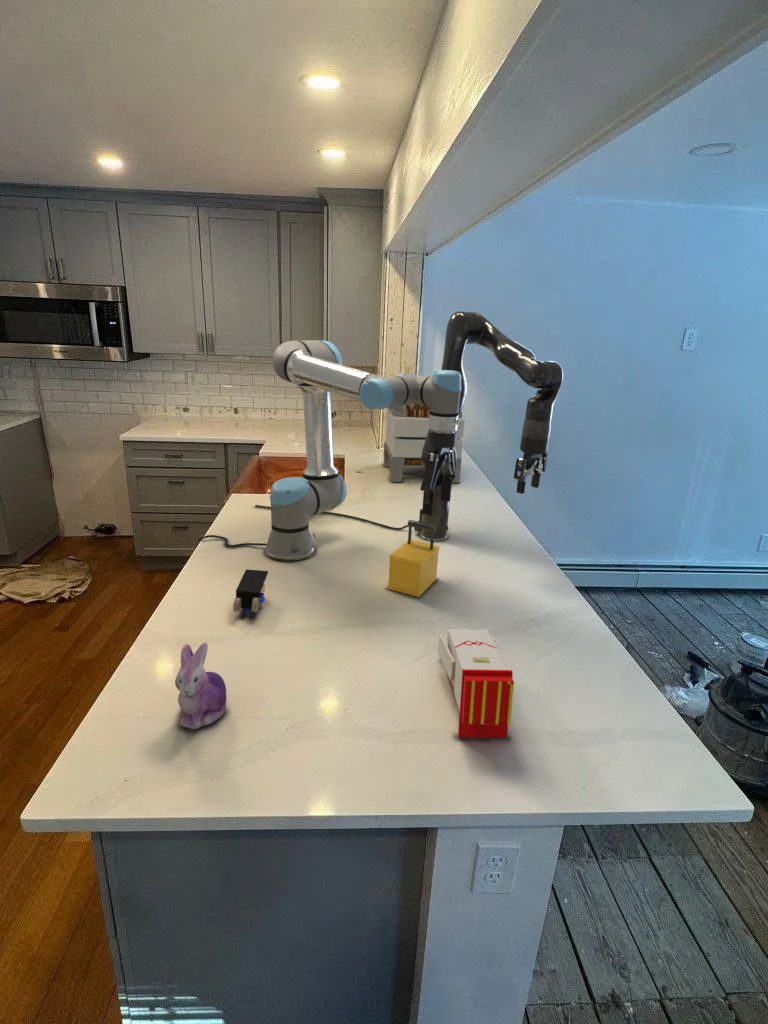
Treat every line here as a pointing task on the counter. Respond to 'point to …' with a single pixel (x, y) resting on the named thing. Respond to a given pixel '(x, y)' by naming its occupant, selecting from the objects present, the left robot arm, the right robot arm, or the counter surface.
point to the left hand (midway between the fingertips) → (436, 507)
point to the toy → (478, 682)
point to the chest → (412, 576)
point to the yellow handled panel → (416, 547)
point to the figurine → (199, 690)
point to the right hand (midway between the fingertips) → (527, 490)
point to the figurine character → (250, 591)
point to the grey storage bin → (411, 439)
